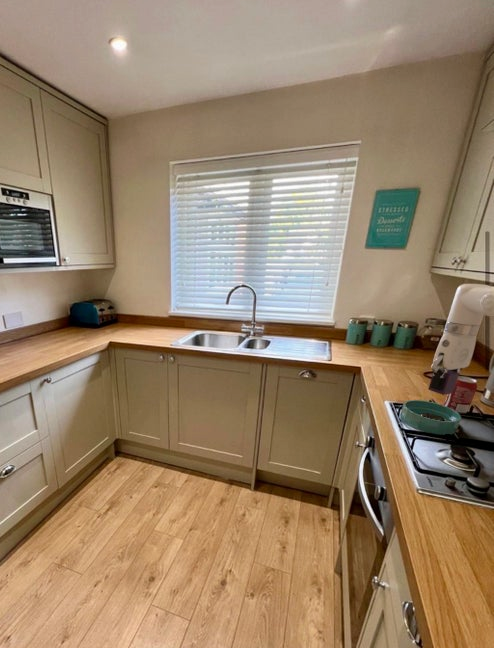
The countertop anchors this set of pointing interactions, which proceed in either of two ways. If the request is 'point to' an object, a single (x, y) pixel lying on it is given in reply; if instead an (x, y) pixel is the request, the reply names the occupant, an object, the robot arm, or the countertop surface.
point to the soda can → (461, 395)
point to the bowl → (414, 419)
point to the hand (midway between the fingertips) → (441, 387)
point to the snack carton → (447, 383)
